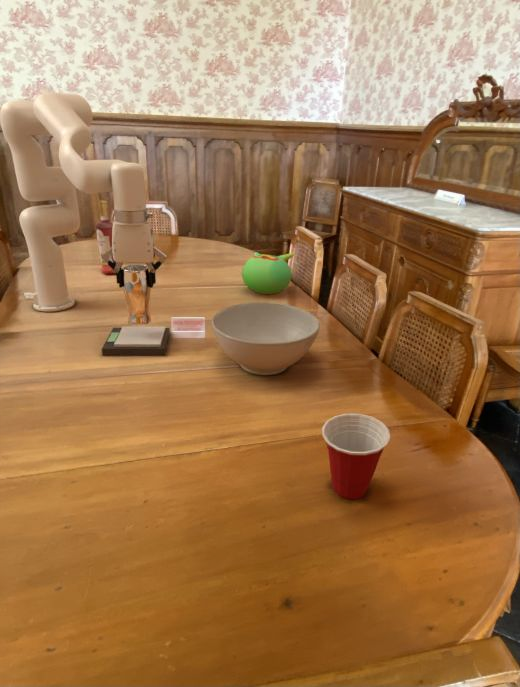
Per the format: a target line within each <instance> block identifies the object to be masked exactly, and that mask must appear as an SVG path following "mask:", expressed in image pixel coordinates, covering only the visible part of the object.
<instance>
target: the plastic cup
mask: <svg viewBox="0 0 520 687" xmlns="http://www.w3.org/2000/svg"><path fill="white" fill-rule="evenodd" d="M321 433H322V434H321V436H322V438H323V440H324V441H325V443H326V446H327V450H328V461H329V471H330V474H331V475H330V476H331V486H332V489H333V490H334V493H335V494H337V495H338V496H339V497H342V498H344V499H346V500H358V499H361V498H362V497H364V496H365V494H366V493H367V491H368V488H369V486H370V483H371V481H372V479H373V477H374V474H375V471H376V470H377V466H378V464H379V461H380V458H381V456H382V454H383V452H384V449H385V448H386V447H387V445H388V443H389V442H390V439H391V433H390V430H389V428H388V427H387V426H386V425H385V423H383V421H381V420H380V419H377V418H375V417H374V416H371V415H367V414H363V413H348V412H347V413H342V414H338V415H335V416H333V417H331V418H329V419H327V420H326V421H325V423H324V424H323V425H322V427H321Z"/></svg>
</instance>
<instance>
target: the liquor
mask: <svg viewBox="0 0 520 687" xmlns="http://www.w3.org/2000/svg"><path fill="white" fill-rule="evenodd" d="M107 202H108V201H107V200H98V203H99V204H98V205H99V209H100V221H99V222H98V223H97V224H96V225H95V232H96V239H97V240H96V241H97V245H98V251H99V256H100V263H101V268H100V272H102V274H104V275H107V276H112V275H116V272H114V270H113V269H112V268H111V267H110V266H109V265H108V264H107V263H106V262H105V261H104V260H103V259H102V255H103V254H105V253H106V252H107V251H108V250H109V249H110V248H111V247H112V229H113V222H111V221H110V219H109V215H108V210H107V209H108V203H107ZM110 258H111V260H113V261H114V259H113V253H112V254H111V255H110ZM114 262H115V263H116V264H117V262H116V261H114Z"/></svg>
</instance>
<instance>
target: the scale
mask: <svg viewBox="0 0 520 687" xmlns="http://www.w3.org/2000/svg"><path fill="white" fill-rule="evenodd" d="M170 335H171V330H170V327H167V326H164V325H163V326H162V325H161V326H152V325H151V326H149V325H148V326H147V325H142V326H134V325H129V326H127V325H126V326H125V325H124V326H122V327H113V328H112V329H111V331H110V333H109V335H108V336H107V338H106V340H105V342H104V344H103V345H102V347H101V353H102V354H101V355H102V356H165V354H166V350H167V347H168V343H169V339H170Z"/></svg>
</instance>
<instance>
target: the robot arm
mask: <svg viewBox="0 0 520 687" xmlns="http://www.w3.org/2000/svg"><path fill="white" fill-rule="evenodd" d="M93 117H94V116H93V110H92V107H91V105H90V103H89V101H87V99H86V98H84V97H83V96H82V95H79V94H76V93H75V94H74V93H65V92H53V91H52V92H48V91H47V92H43V93H40V94H39V95H37V96H36V97H35V99H34V100H11V101H7V102H5V103H4V104H2V106H1V107H0V128H1V131H2V134H3V136H4V138H5V141H6V142H7V144H8V147H9V149H10V153H11V157H12V163H13V168H14V173H15V176H16V182H17V187H18V190H19V193H20V196H21V197H22V198H23V200H25V201H28V202H45V201H46V202H47V201H56V203H54V204H44V205H43V204H41V205H35V206H30V207H27V208H25V209H23V210H22V211H21V213H20V214H19V218H18V219H19V220H18V221H19V225H20V228H21V231H22V233H23V236H24V239H25V243H26V245H27V251H28V254H29V255H28V256H29V260H30V266H31V272H32V277H33V278H32V279H33V283H34V284H33V285H34V289H35V291H34V292H24V293H23V298H24V299H25V301H33V303H32V306H33V309H34V310H36V311H39V312H44V313H45V312H47V313H49V312H50V313H51V312H58V311H65V310H69V309H70V308H71V307H73V306H74V305H75V304H76V302H75V299H74V298H73V297H71V296H70V295H69V289H68V288H69V287H68V282H67V276H66V268H65V262H64V255H63V251H62V248H61V247H60V246H59V245H58V243H57V242H55V241H54V239H53V238H56V237H60V236H66V235H73V234H76V233H77V232H78V231H79V230H80V227H81V217H80V209H79V203H78V202H79V201H78V196H77V190H78V191H80V192H82V193H84V194H87V195H89V194H90V195H94V194H104V193H112V198H113V199H112V201H113V209H114V210H113V211H114V219H115V220H114V221H113V222H112V223H113V229H112V247H111V248H110V249H109V250H108V251H107V252H106V253H105V254H103V255H102V259H103V260H104V261H105V262H106V263H107V264H108V265H109V266H110V267H111V268H112V269H113V270H114V272H116V274H115V278H116V284H118V288H121V289H123V279H122V268H123V265H124V264H145V265H146V266H147V267H148V269H149V274H148V275H149V287H150V289H152V288H154V285H155V284H156V283H157V281H156V280H157V279H156V271H157V270H158V269H159V268H160V267H161V266H162V265H163V264H164V262H165V261H166V260H167V258H168V257H167V255H166V254H165V253H164V252H162V251H161V250H160V249H158V248H157V247H156V245H155V244H156V243H155V237H154V232H153V226H152V223H151V221H150V220H149V219H151V218H152V219H153V217H154V215H153V212H152V211H149V210H148V209H147V202H146V200H147V199H146V184H145V172H144V168H143V166H142V165H141V164H140V163H137V162H126V161H124V160H122V159H87V160H86V159H83V158H82V157H81V156H80V155H81V154H82V153H84V152H86V151H87V149H88V148H89V147H90V145H91V143H92V140H93V134H92V131H91V129H90V126H91V125H92V122H93V119H94V118H93ZM34 136H52V137H53V139H54V140H55V141H56V143H57V144H58V145H59V147H58V160H59V164H60V166H47V163H46V157H45V156H46V155H45V152H44V149H43V147H42V146H41V144H39V142H38V141H37V139H36V138H35V137H34ZM112 253H113V259H114V261H116V262H117V264H116V263H115V262H114V261H113V260H111V258H110V255H111V254H112ZM156 256H157V257H158V258H159V259H158V260H156V262H155V263H154V259H155V258H156Z"/></svg>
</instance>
